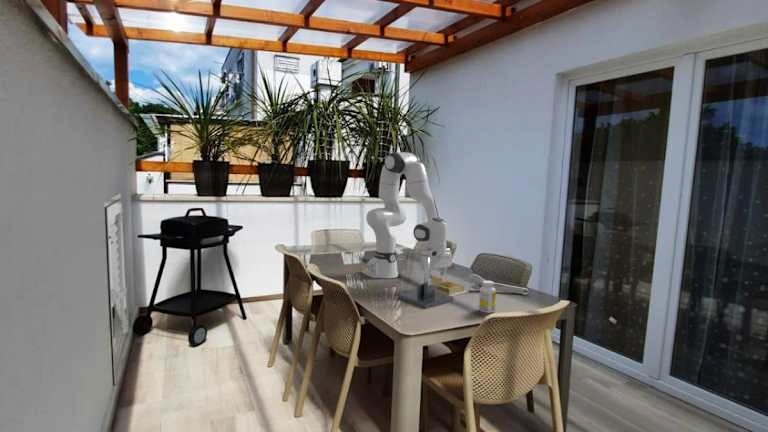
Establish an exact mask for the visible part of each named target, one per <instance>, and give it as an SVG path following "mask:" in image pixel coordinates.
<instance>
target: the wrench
mask: <svg viewBox="0 0 768 432" xmlns="http://www.w3.org/2000/svg"><path fill="white" fill-rule="evenodd" d="M467 280H475V281H474V282H475V283H471V284H469V288H472V289H474V290H477V291H478V292H480V288H481V287H483V284H482V282H483V281H487V280H486V279H484V278H483V277H481V276H480V275H478V274H475V273H472V274H470V275H468V277H467ZM493 287H494V288H495V290H500V291H503V292H510V293H515V294H519V295H529V293H530V291H529V289H528V288H527V287H526V288H525V287H520V286H515V285H508V284H503V283H498V282H494V285H493ZM524 291H527V292H526V293H524Z"/></svg>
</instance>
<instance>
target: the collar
mask: <svg viewBox="0 0 768 432" xmlns="http://www.w3.org/2000/svg"><path fill="white" fill-rule="evenodd" d="M430 285H434V286H435V291H438V292H441V293H444V294H447V295H452V294H455V293H459V292H463V291H464V290H465V285H464V284H460V283H458V282H454V281H449V280H445V281H443V277H440V276H436V275H434V276H433V275H432V278H431V279H430Z"/></svg>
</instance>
